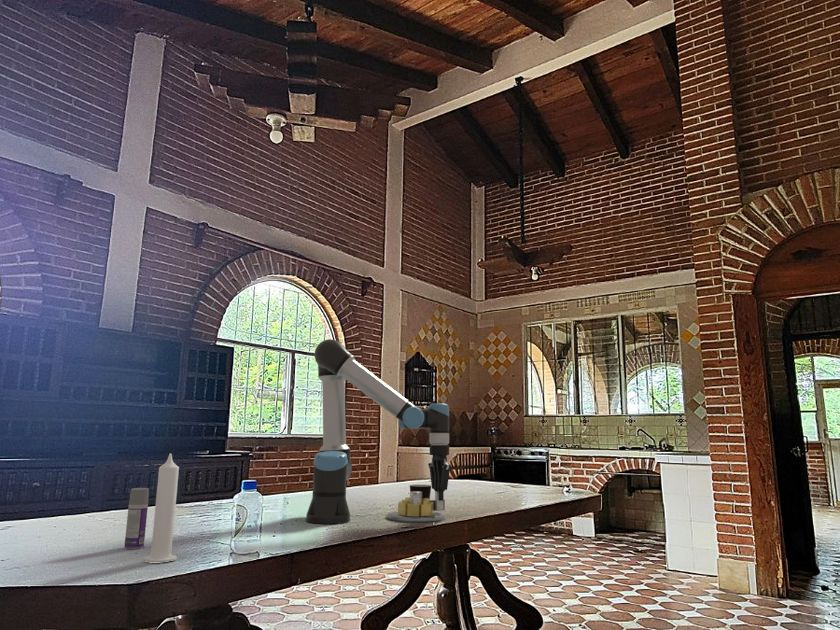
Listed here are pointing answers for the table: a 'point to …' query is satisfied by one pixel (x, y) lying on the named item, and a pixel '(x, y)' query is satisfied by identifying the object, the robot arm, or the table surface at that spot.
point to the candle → (164, 513)
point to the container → (136, 518)
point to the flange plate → (416, 499)
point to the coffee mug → (422, 490)
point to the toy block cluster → (417, 507)
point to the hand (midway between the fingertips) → (439, 509)
